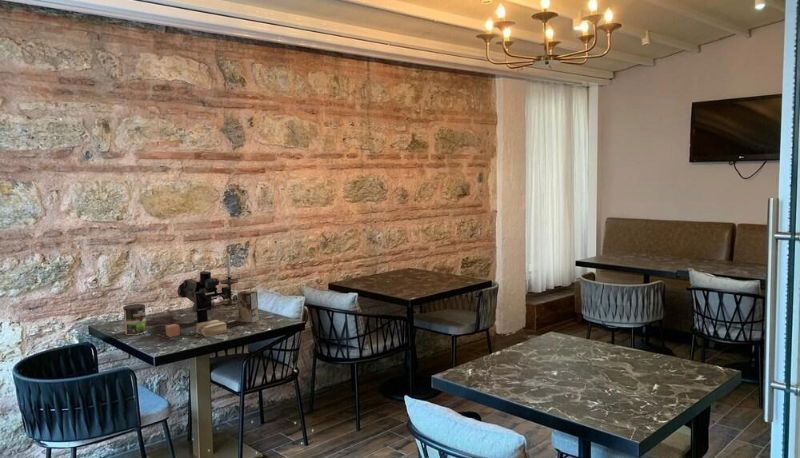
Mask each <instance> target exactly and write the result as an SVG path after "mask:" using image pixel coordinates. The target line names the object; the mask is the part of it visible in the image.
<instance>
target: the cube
mask: <svg viewBox="0 0 800 458" xmlns="http://www.w3.org/2000/svg"><path fill="white" fill-rule="evenodd" d="M180 335H181V331H180V325H179V324H177V323H173V324H168V325H165V336H167V337H169V338H172V337H177V336H180Z"/></svg>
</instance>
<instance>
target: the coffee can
mask: <svg viewBox="0 0 800 458" xmlns="http://www.w3.org/2000/svg"><path fill="white" fill-rule="evenodd" d="M123 317H124V318H123V319H124V335H125V334H126V336H129V335H133V336H140V335H143V333H144V334H145V333H147V332H148V331H147V320H146V317H147V316H146V304H144V303H136V304H135V303H134V304H129V305H124V306H123ZM139 334H140V335H139Z"/></svg>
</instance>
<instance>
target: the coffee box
mask: <svg viewBox="0 0 800 458" xmlns="http://www.w3.org/2000/svg"><path fill="white" fill-rule="evenodd" d="M258 299H259V296H258V291H253V290H250V291H249V290H242V291H240V292H237V301H238V305H237V306H238V320H239V322H243V323H255V322H257V321H259V319H260V318H259V317H260V316H259V303H258V302H259V300H258Z"/></svg>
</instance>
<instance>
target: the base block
mask: <svg viewBox="0 0 800 458" xmlns="http://www.w3.org/2000/svg"><path fill="white" fill-rule="evenodd" d="M195 325H196V333H197V334H199V335H201V336H203V337H206V338H207V337H211V336H216V335H220V334H224V333H228V331H227V323H226V322H224V321H221V320H218V319H213V320H210V321H207V322H202V323H197V322H196V324H195Z"/></svg>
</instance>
